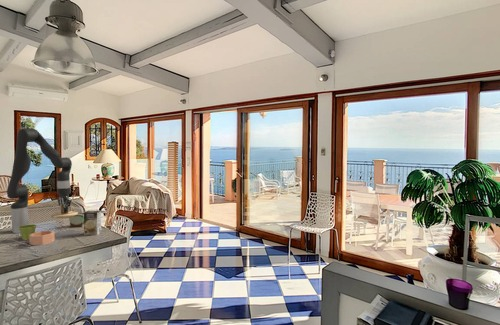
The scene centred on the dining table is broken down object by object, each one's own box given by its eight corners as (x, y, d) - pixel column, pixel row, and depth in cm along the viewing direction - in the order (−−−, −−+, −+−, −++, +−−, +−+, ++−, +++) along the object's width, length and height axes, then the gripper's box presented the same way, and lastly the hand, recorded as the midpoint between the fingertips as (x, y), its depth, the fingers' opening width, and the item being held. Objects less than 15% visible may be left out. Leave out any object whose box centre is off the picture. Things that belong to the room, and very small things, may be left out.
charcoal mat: (45, 236, 197) (45, 235, 197) (71, 230, 212) (71, 229, 212) (59, 240, 189) (58, 239, 188) (85, 233, 203) (85, 232, 203)
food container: (89, 225, 224) (88, 212, 224) (84, 227, 218) (83, 214, 218) (74, 225, 226) (73, 212, 225) (68, 227, 219) (68, 214, 219)
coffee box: (83, 236, 198) (82, 212, 197) (88, 233, 204) (87, 210, 203) (97, 235, 198) (96, 212, 197) (101, 233, 205) (101, 210, 204)
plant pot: (22, 242, 185) (22, 229, 185) (16, 240, 190) (15, 227, 190) (39, 238, 193) (39, 225, 193) (33, 236, 198) (32, 223, 198)
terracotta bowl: (26, 244, 182) (26, 234, 182) (48, 238, 193) (47, 229, 192) (36, 247, 176) (35, 237, 176) (57, 241, 186) (57, 232, 186)
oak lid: (46, 216, 197) (46, 205, 196) (70, 211, 210) (69, 202, 209) (58, 219, 189) (58, 208, 189) (82, 214, 202) (81, 204, 202)
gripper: (52, 187, 199) (53, 212, 200) (63, 188, 192) (64, 214, 193) (63, 185, 205) (64, 210, 206) (75, 187, 198) (76, 212, 199)
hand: (64, 212), depth 199 cm, fingers closed on oak lid, 3 cm apart
